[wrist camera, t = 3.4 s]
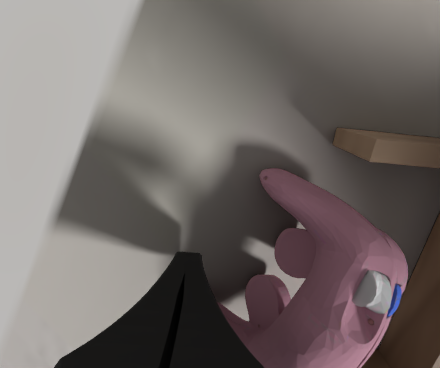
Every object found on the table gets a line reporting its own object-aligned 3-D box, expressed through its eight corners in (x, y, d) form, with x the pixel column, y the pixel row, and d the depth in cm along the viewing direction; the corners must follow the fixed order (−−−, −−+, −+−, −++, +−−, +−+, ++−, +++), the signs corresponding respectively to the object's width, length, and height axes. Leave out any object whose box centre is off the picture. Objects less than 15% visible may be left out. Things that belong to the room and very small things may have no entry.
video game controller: (235, 301, 17) (305, 431, 11) (174, 305, 14) (229, 476, 9) (318, 176, 14) (466, 273, 8) (260, 152, 11) (421, 271, 6)
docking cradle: (487, 142, 12) (573, 158, 9) (386, 358, 17) (420, 412, 14) (336, 127, 11) (376, 139, 9) (279, 352, 16) (292, 406, 14)
